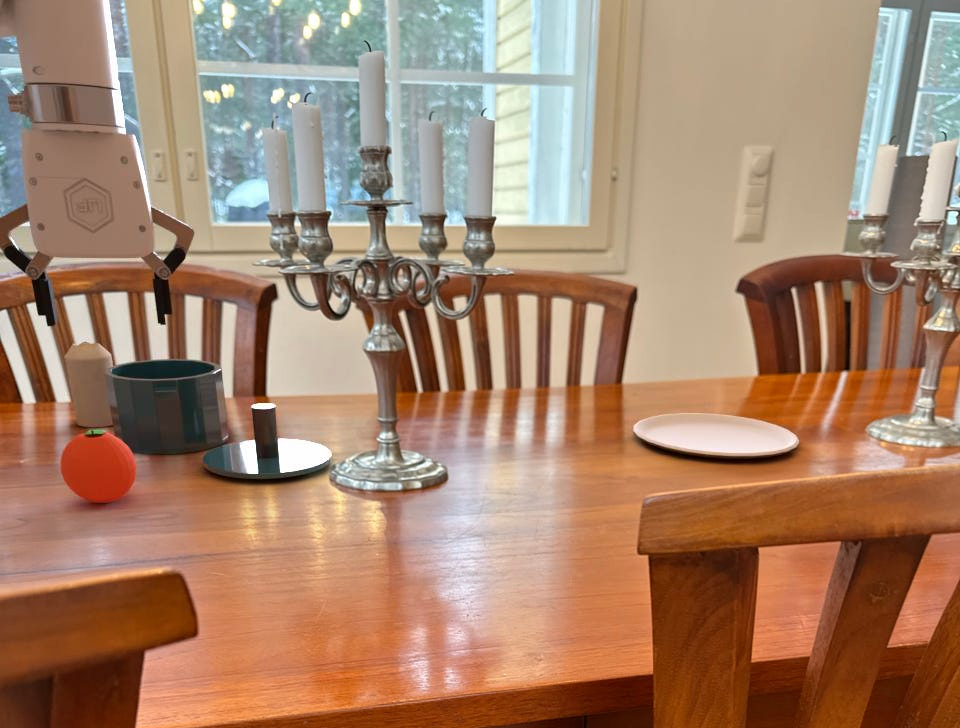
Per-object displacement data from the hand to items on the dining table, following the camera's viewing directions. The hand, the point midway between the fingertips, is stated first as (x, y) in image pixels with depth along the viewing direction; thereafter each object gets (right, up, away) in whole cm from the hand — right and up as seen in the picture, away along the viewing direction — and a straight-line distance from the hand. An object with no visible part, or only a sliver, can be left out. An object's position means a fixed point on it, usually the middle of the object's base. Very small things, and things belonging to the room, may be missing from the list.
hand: (108, 323), depth 84 cm
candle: (-15, -2, +33) cm, 36 cm away
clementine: (-3, -16, +6) cm, 17 cm away
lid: (+11, -9, +17) cm, 22 cm away
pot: (-3, -5, +26) cm, 27 cm away
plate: (+65, -4, +31) cm, 72 cm away
